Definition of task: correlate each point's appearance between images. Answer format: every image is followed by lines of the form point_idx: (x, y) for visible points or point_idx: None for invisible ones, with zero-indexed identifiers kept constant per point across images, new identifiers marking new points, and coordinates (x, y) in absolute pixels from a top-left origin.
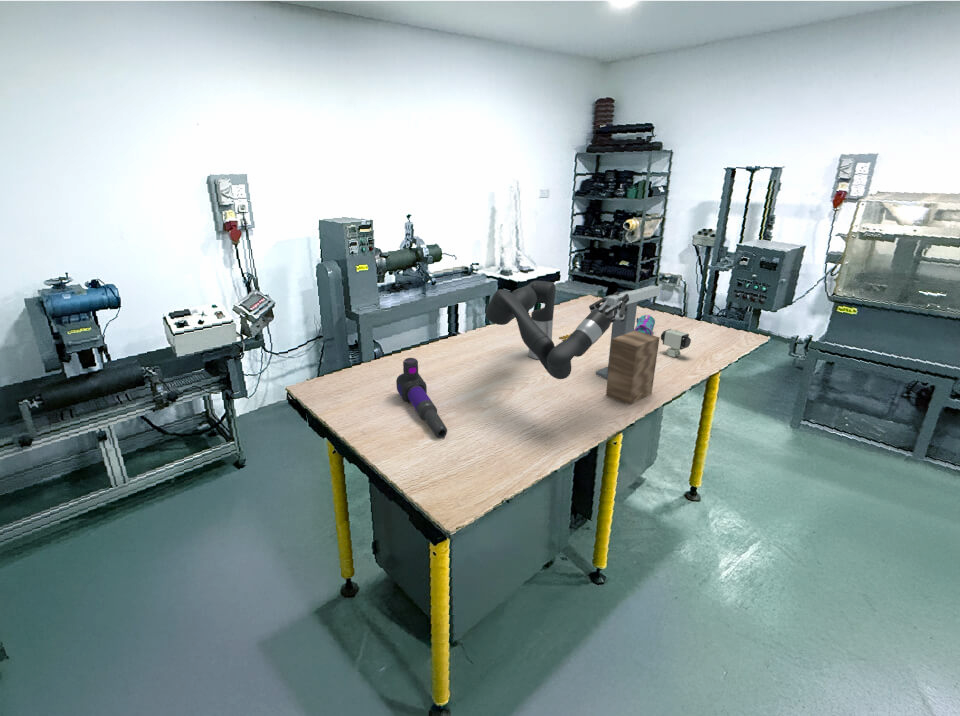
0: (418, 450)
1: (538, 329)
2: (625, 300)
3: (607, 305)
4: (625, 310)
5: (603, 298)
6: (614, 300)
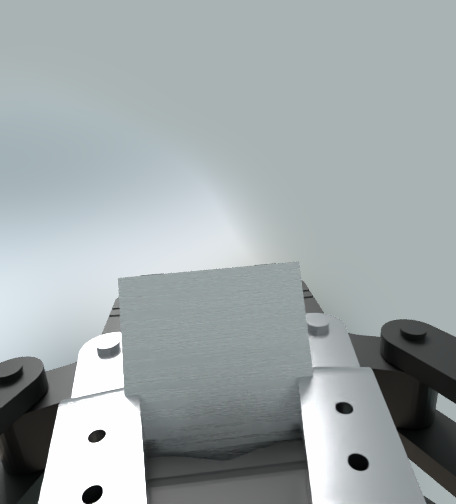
0: None
1: None
2: (319, 312)
3: (159, 449)
4: (441, 426)
5: (10, 363)
6: (300, 291)
